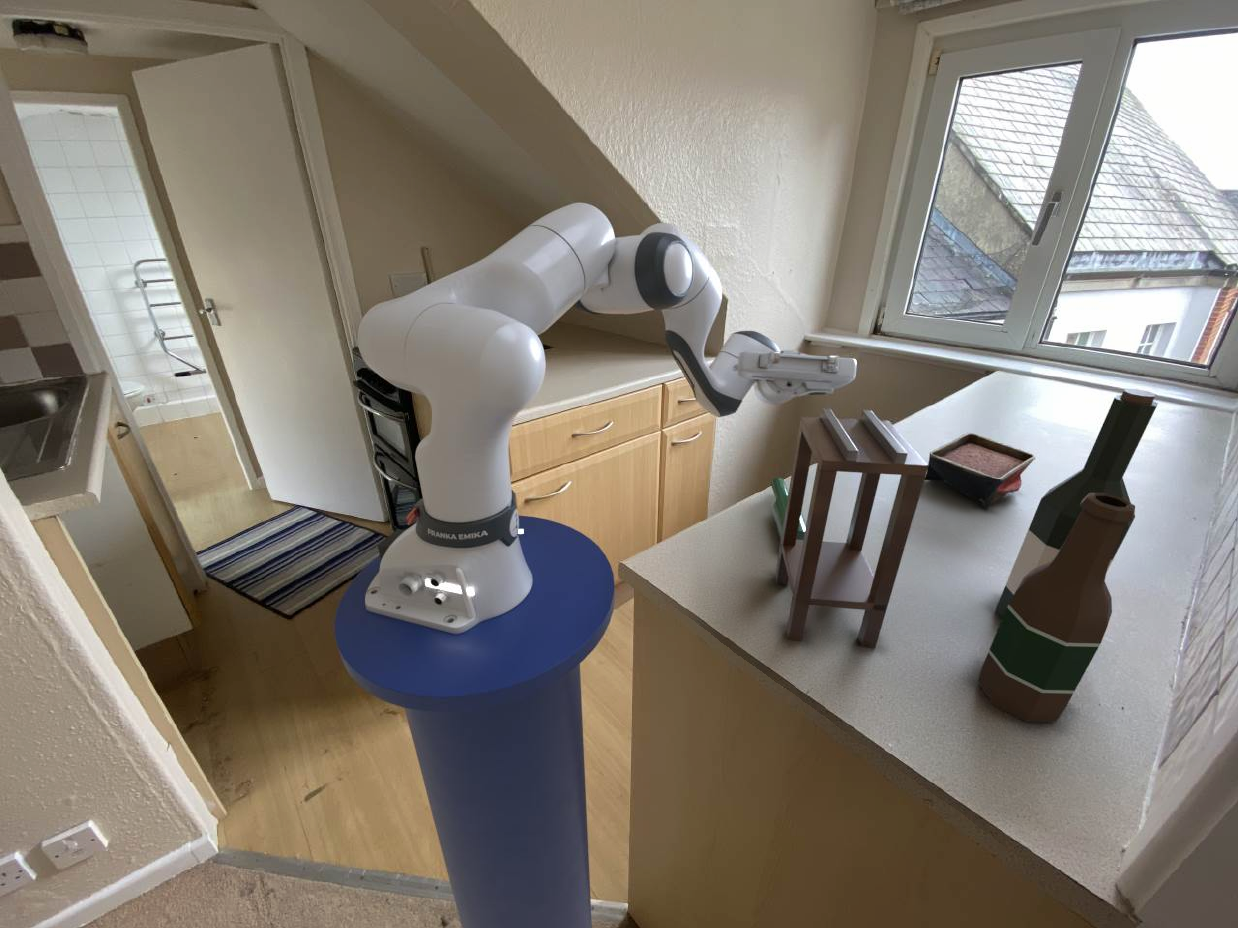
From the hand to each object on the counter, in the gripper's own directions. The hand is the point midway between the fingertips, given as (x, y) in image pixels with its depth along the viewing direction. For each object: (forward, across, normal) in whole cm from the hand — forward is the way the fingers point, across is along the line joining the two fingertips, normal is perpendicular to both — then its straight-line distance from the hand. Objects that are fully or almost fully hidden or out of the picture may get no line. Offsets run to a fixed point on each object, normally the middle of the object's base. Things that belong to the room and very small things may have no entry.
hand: (804, 358), depth 87 cm
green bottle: (0, 0, +27) cm, 27 cm away
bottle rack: (+18, +1, +37) cm, 41 cm away
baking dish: (-14, +34, +18) cm, 42 cm away
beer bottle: (+28, +19, +42) cm, 54 cm away
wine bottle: (+18, +27, +36) cm, 48 cm away
